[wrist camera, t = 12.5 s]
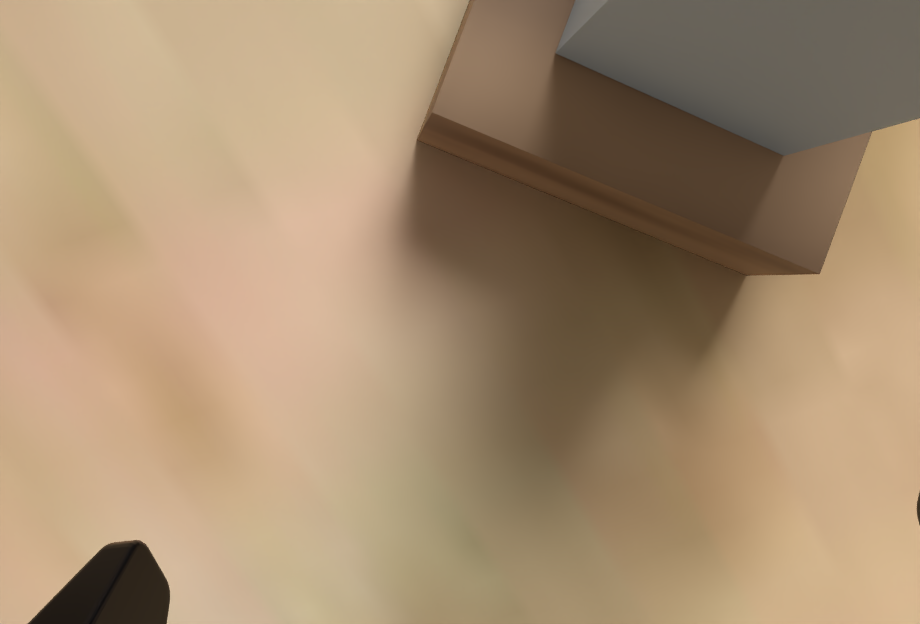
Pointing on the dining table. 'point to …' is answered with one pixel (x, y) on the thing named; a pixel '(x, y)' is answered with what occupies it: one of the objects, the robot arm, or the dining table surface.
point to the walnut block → (631, 148)
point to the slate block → (761, 62)
